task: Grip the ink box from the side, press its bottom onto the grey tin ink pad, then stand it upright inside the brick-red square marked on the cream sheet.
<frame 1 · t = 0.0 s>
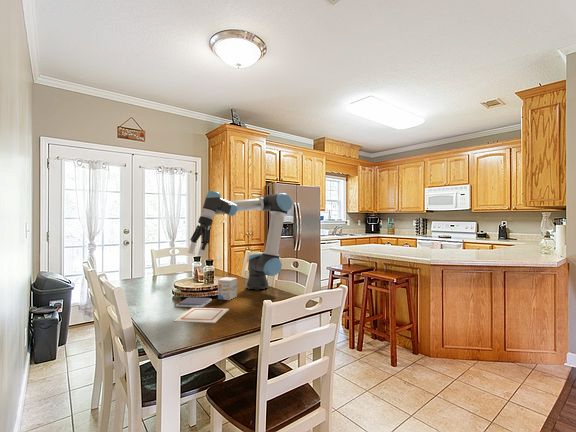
hand: (195, 254, 166), 28 cm above the table, tool tilted 20°, fingers open, 13 cm apart
ink pad: (194, 303, 170), on the table
marked sheet: (202, 315, 150), on the table
ink box: (227, 298, 182), on the table
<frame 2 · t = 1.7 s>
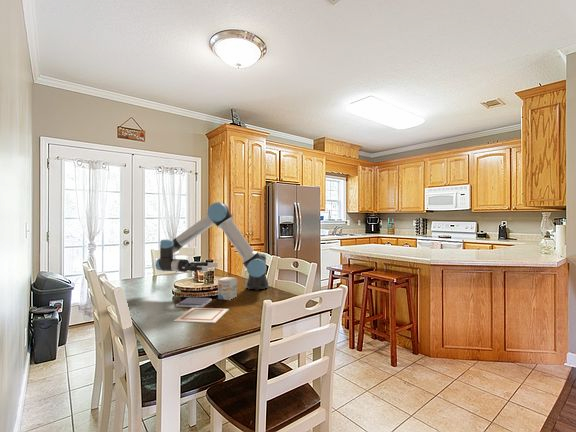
hand: (212, 266, 183), 18 cm above the table, tool horizontal, fingers open, 13 cm apart
nothing on the table moved.
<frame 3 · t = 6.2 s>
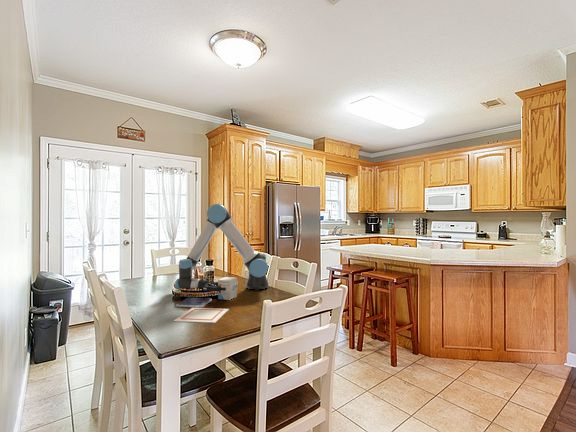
hand: (234, 287, 181), 7 cm above the table, tool horizontal, fingers closed on ink box, 9 cm apart
ink box: (227, 298, 181), on the table, touching gripper
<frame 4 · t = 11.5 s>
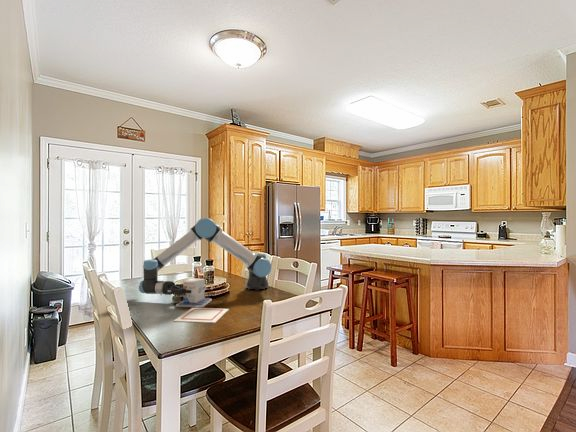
hand: (201, 289, 169), 8 cm above the table, tool horizontal, fingers closed on ink box, 9 cm apart
ink box: (194, 300, 170), point 1 cm above the table, touching gripper, ink pad
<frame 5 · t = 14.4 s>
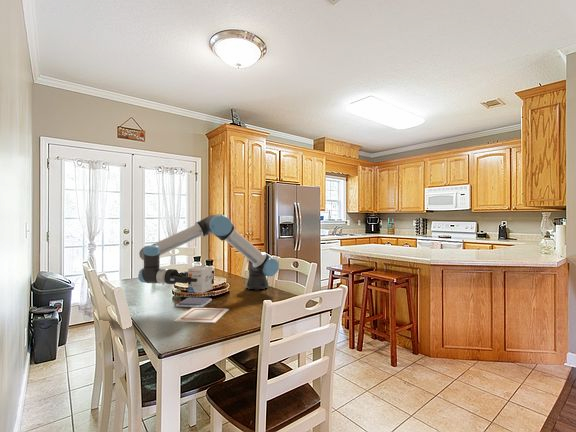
hand: (208, 278, 151), 18 cm above the table, tool horizontal, fingers closed on ink box, 9 cm apart
ink box: (199, 291, 152), point 11 cm above the table, touching gripper
when the fingers open (8 cm above the table, at t = 16.9 s): ink box drops 2 cm, resting on marked sheet.
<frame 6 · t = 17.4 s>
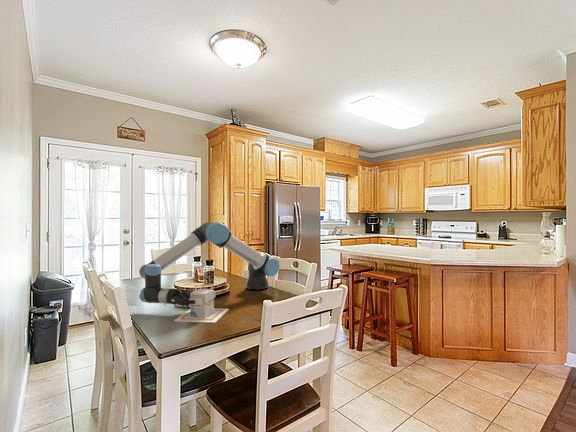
hand: (208, 298, 149), 8 cm above the table, tool horizontal, fingers open, 13 cm apart
ink box: (202, 314, 150), resting on marked sheet
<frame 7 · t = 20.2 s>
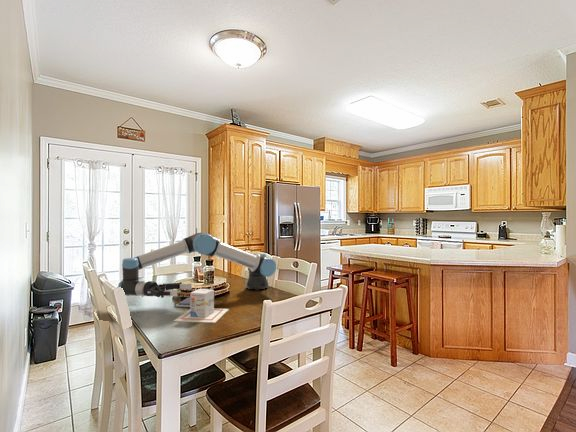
hand: (184, 289, 154), 12 cm above the table, tool horizontal, fingers open, 13 cm apart
nothing on the table moved.
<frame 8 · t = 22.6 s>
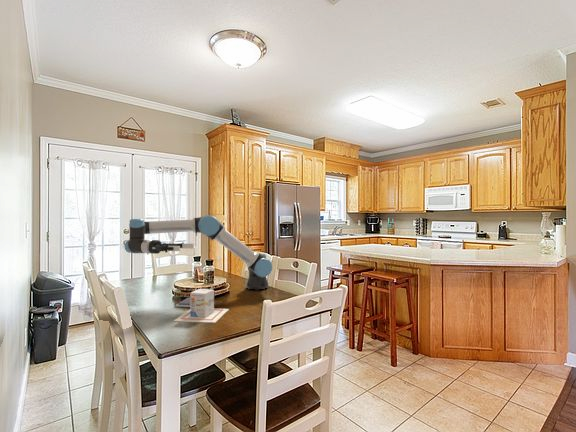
hand: (186, 247, 165), 32 cm above the table, tool horizontal, fingers open, 13 cm apart
nothing on the table moved.
at the end: ink box 0.3 cm off-centre on the marked sheet, point 0.2 cm above the marked sheet's base; ink box tilted 0°; the gripper is holding nothing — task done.
